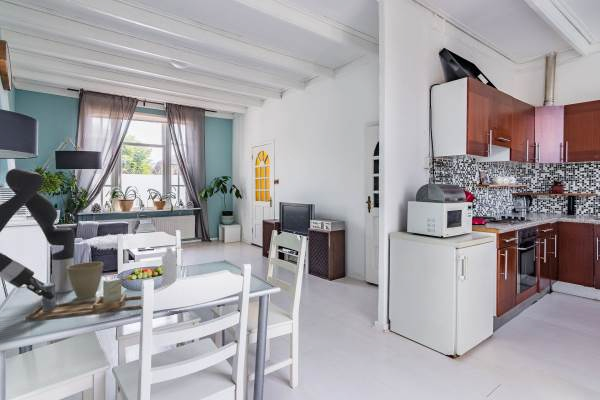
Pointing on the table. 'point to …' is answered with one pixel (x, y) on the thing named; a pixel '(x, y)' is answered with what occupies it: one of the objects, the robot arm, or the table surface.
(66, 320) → the table surface
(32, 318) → the brown flat long board
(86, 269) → the plant pot
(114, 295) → the skincare box
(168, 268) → the water bottle
